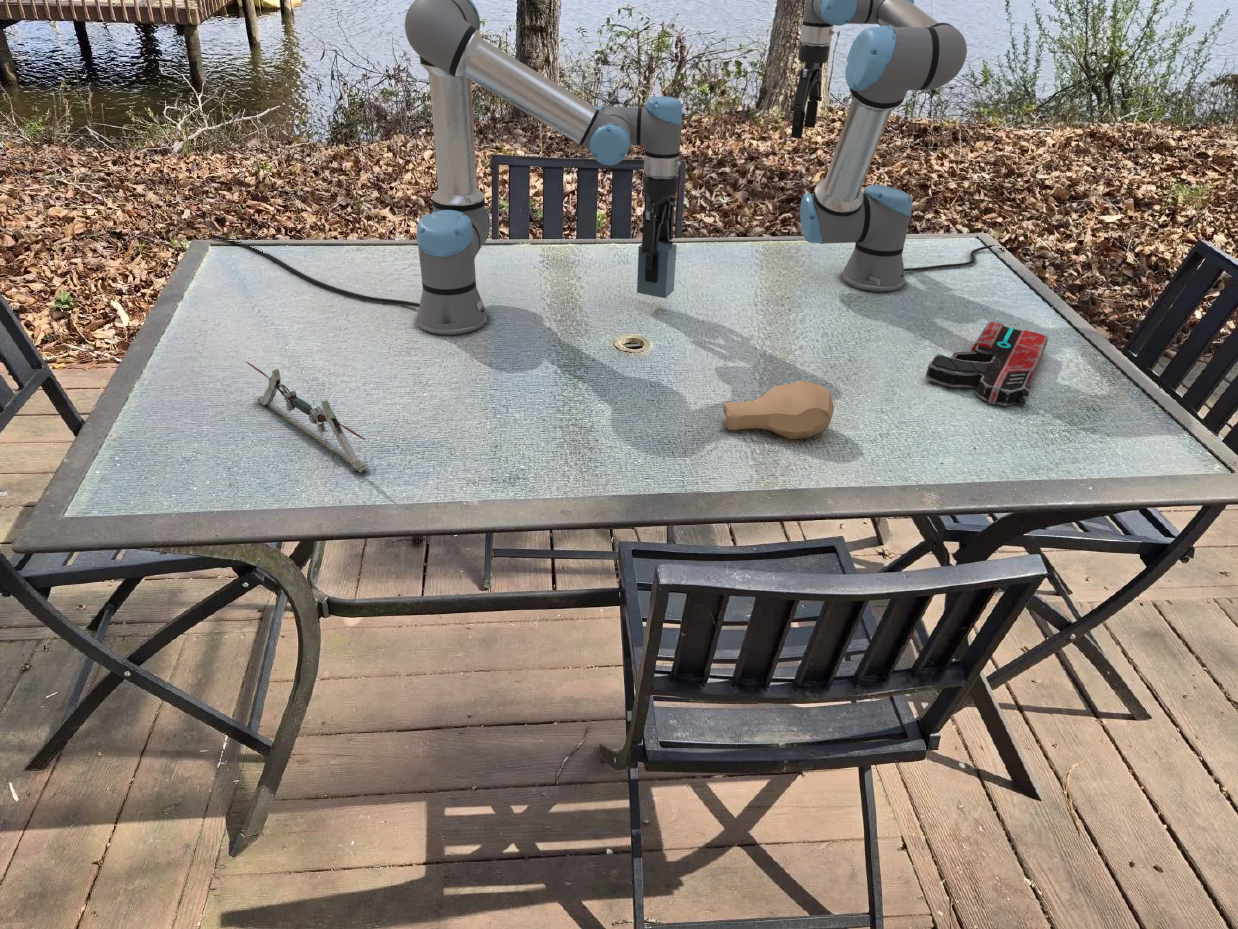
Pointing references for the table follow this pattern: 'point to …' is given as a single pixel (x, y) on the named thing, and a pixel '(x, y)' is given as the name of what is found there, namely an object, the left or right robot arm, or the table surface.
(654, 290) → the brick
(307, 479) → the table surface
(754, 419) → the squash
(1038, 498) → the table surface
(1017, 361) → the gun
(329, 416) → the bow
